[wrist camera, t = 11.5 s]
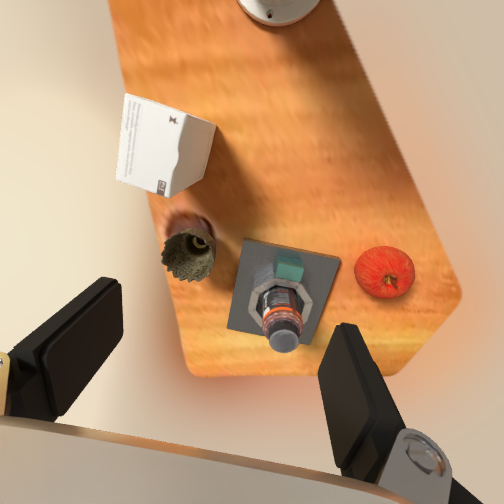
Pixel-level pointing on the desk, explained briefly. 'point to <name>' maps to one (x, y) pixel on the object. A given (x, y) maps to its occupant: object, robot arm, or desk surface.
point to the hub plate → (280, 284)
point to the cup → (189, 254)
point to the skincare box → (162, 147)
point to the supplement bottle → (282, 318)
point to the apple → (384, 272)
